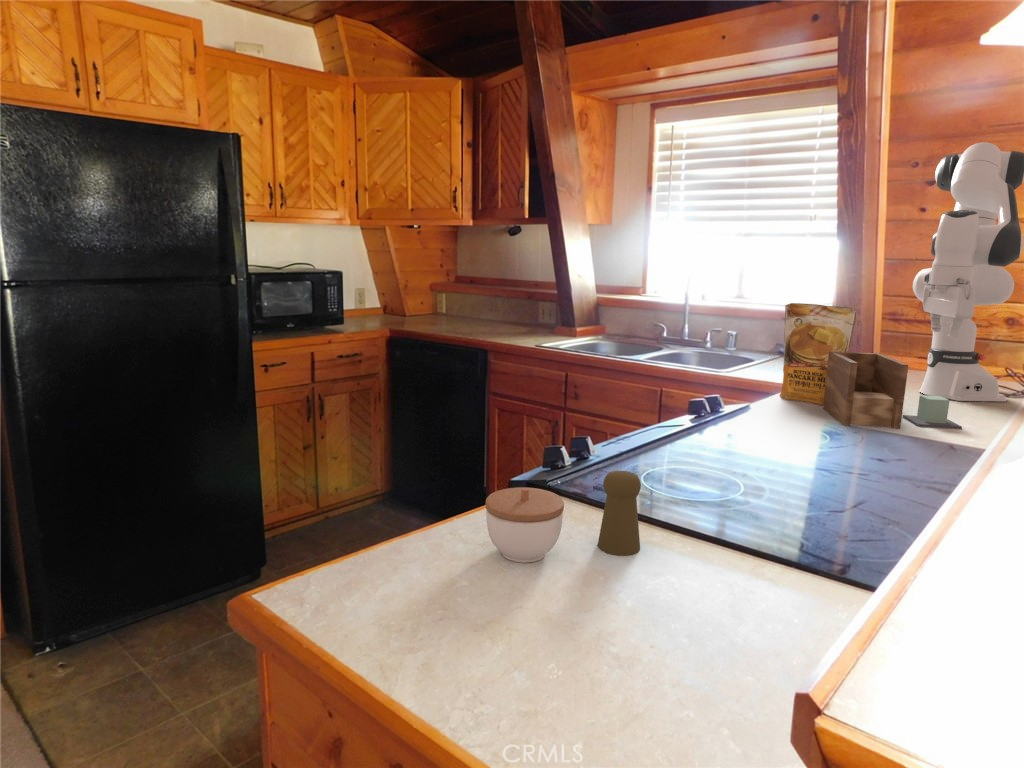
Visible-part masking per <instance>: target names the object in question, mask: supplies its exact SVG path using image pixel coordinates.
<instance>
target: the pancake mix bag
mask: <svg viewBox="0 0 1024 768" xmlns="http://www.w3.org/2000/svg"><path fill="white" fill-rule="evenodd" d="M784 308H785V309H784V311H785V312H784V334H783V335H784V336H783V368H782V369H783V370H782V371H783V372H782V373H783V378H782V384H781V385H782V386H781V390H780V393H779V397H780V398H783V399H785V400H788V401H794V402H798V403H799V402H800V403H805V404H812V405H817V406H823V403H824V394H825V384H826V375H827V366H828V357H829V351H830V352H849V351H850V348H851V343H852V338H853V332H854V328H855V325H856V321H857V311H856V310H854V311H853V307H848V306H835V305H834V306H832V305H825V304H815V303H800V302H799V303H798V302H796V303H795V302H790V303H787V304H785V305H784Z"/></svg>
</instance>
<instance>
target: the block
mask: <svg viewBox="0 0 1024 768" xmlns="http://www.w3.org/2000/svg"><path fill="white" fill-rule="evenodd" d="M950 401H951V399H947V398H944V397H942V396H930V395H926V394H924V395H923V394H920V395H919V398H918V406H917V407H918V408H917V413H916V416H917V418H918V419H920V420H922V421H923V422H928V423H946V422H947V419H948V414H949V408H950Z"/></svg>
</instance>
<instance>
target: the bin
mask: <svg viewBox="0 0 1024 768" xmlns="http://www.w3.org/2000/svg"><path fill="white" fill-rule="evenodd" d="M908 370H909V364H907V363H904V362H903V361H900V360H898V359H895V358H892V357H890V356H888V355H884V354H882V353H877V352H875V353H873V352H854V351H850V352H849V351H848V352H830V351H829V357H828V366H827V375H826V384H825V394H824V403H823V405H822V409H823V410H824V411H825V412H826V413H827V414H828V415H830V416H831V417H833V418H834V419H835V420H836V421H837V422H838V423H840V425H842V426H843V425H844V426H843V427H851V425H852V426H854V425H855V426H871V427H872V426H874V427H890V428H892V429H894V430H900V429H901V426H902V418H903V411H904V410H903V409H904V402H905V394H906V389H907V388H906V387H907V382H908V381H907V378H908V372H909V371H908Z"/></svg>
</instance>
